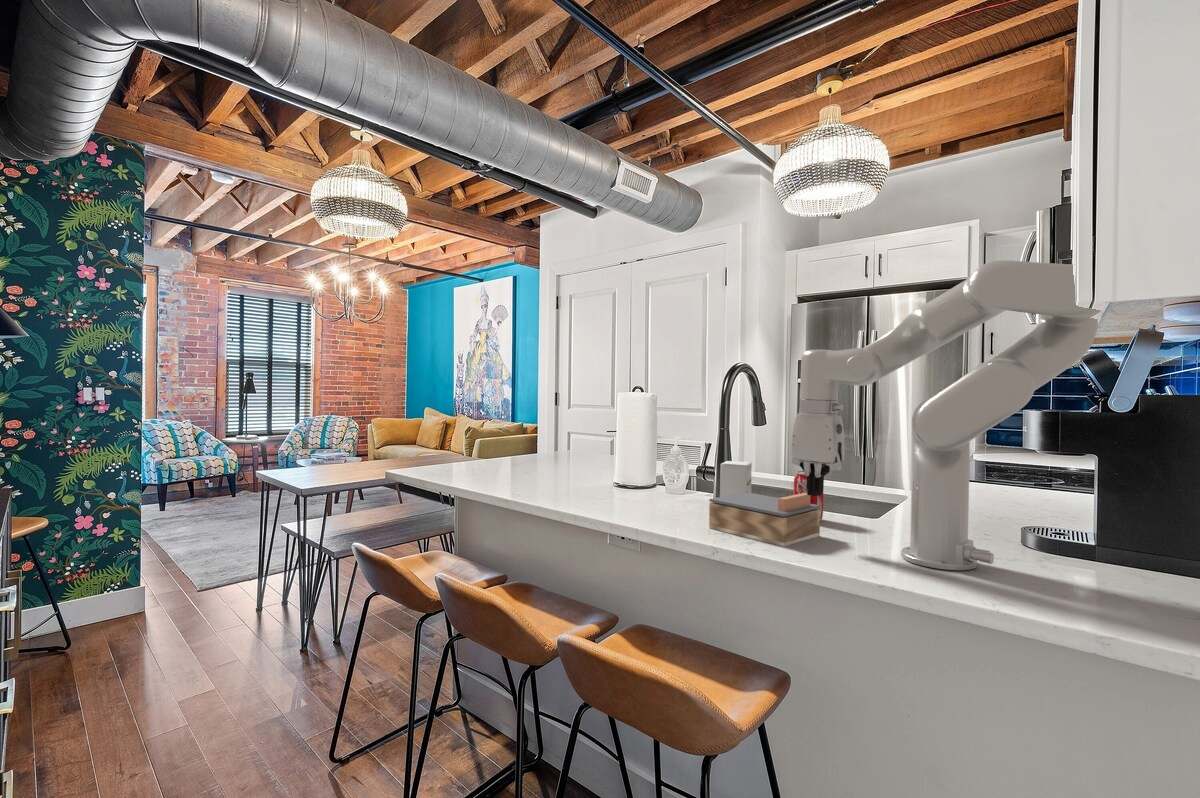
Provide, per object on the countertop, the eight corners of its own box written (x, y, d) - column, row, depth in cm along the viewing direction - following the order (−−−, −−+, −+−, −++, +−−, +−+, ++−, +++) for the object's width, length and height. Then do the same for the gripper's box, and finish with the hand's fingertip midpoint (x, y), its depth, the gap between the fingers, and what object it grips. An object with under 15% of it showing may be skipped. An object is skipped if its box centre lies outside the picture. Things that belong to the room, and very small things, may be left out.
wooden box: (819, 536, 127) (819, 509, 127) (783, 546, 119) (784, 518, 119) (745, 519, 143) (745, 495, 143) (709, 528, 134) (709, 502, 134)
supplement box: (746, 512, 152) (747, 465, 151) (718, 509, 155) (719, 463, 154) (751, 507, 158) (752, 461, 158) (725, 504, 161) (725, 460, 161)
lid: (819, 508, 127) (820, 493, 127) (784, 516, 119) (784, 501, 118) (745, 494, 143) (746, 481, 143) (709, 501, 134) (709, 487, 134)
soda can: (827, 523, 139) (828, 474, 139) (798, 523, 139) (799, 474, 139) (817, 517, 146) (817, 470, 146) (789, 516, 146) (790, 470, 146)
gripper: (861, 410, 116) (857, 499, 117) (796, 406, 128) (793, 487, 129) (843, 410, 112) (839, 503, 112) (776, 406, 123) (773, 490, 124)
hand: (814, 494), depth 120 cm, fingers closed
